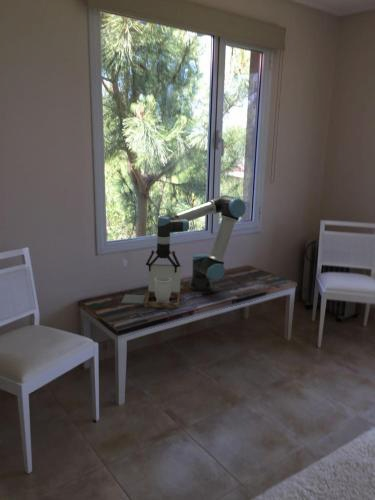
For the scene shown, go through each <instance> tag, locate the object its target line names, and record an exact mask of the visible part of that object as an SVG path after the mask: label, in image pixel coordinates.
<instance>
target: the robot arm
mask: <svg viewBox="0 0 375 500" xmlns="http://www.w3.org/2000/svg"><path fill="white" fill-rule="evenodd" d="M218 213H219V214H220V216H221V221H220V225H219V228H218V230H217V234H216V236H215V239H214V242H213V245H212V248H211V250H210V253H208V254H207V253H197V254H193V256H192V272H191V273H192V275H191V279H190V282H189V284H188V285H189V289H191V290H193V291H197V292H205V291H207V292H208V291H210V290H212V286H213V285H212V281H218V280H220V279H222V278H223V277H224V275H225V272H226V268H225V266H224V264H225V260H224V257H225V255H226V254H225V253H226V252H227V248H228V245H229V242H230V239H231V236H232V232H233V230H234V227H235V225H236V223H237V222H239V219H240V218H242V217H243V216H244V214H245V213H246V204H245V201H244V200H242V198H238V197H235V196H230V195H221V196H220V195H219V196H218V197H215V198H211V199H209V200H208V201H207V202H205V203H202V204H198V205H197V206H193V207H191V208H187V209H184V210H182V211H179V212H176V213H173V214H165V215H163V216H158V218H157V224H156V225H157V226H156V227H157V229H156V230H157V232H156V234H157V237H156V242H157V243H156V250H154V249H152V250H151V254H150V255H149V257H148V259H147V261H146V263H145V266H148V272H149V271H151V276H150V277H152V266H151V265H152V264H155V263H156V262H157V260H158V259H163V260H164V259H167V260H168V261H169V263H171V265H173V266H174V268H173V278H175V273H176V272H177V267H179V266H180V265H181V264H180V262H179V260H178V257H177V256H176V251H175V250H173V251H171V250H170V249H171V248H170V245H171V244H170V243H171V234H172V233H183V232H188V231H189V229H190V222H191V221H194V220H196V219H199V218H203V217H206V216H208V215H210V214H212V215H216V214H218ZM155 254H156V256H155V257H154V259H152V258H153V256H154V255H155ZM170 254H171V256H172V257H173V259H172V257H171V256H170ZM151 259H152V260H151Z"/></svg>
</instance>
